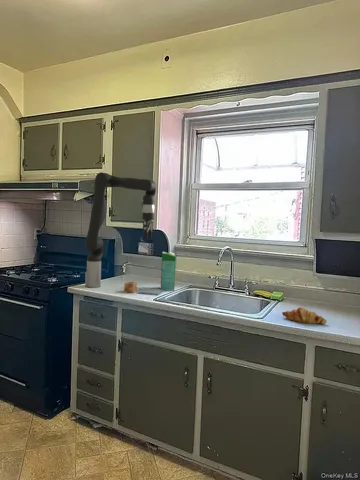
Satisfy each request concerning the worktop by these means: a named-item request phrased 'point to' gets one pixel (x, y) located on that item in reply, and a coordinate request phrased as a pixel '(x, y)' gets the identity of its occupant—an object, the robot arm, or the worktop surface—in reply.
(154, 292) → the slate mat
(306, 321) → the croissant
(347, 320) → the worktop surface
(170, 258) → the milk carton
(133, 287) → the wood block
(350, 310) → the worktop surface
